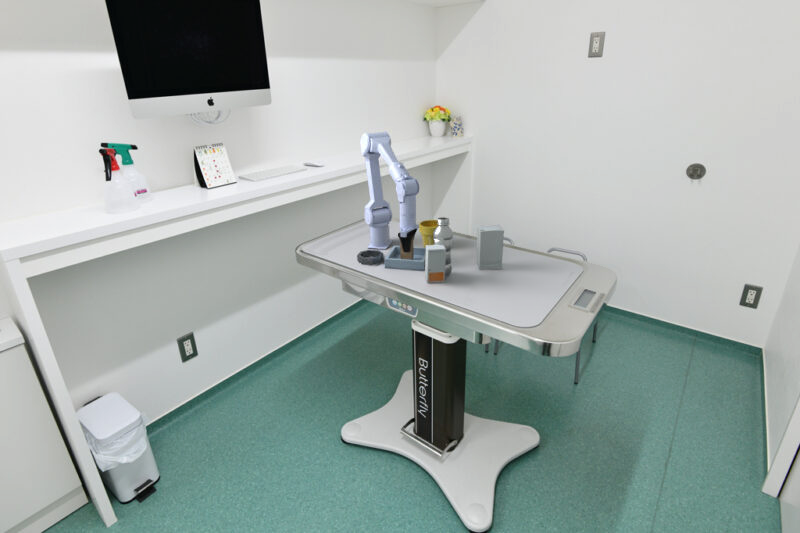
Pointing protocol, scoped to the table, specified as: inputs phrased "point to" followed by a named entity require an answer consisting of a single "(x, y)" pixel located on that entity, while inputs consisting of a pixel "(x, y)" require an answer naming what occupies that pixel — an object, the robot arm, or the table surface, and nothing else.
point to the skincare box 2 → (489, 247)
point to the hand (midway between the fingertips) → (407, 249)
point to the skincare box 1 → (435, 263)
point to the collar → (376, 255)
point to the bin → (396, 262)
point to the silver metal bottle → (444, 240)
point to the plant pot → (428, 231)
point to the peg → (407, 254)
